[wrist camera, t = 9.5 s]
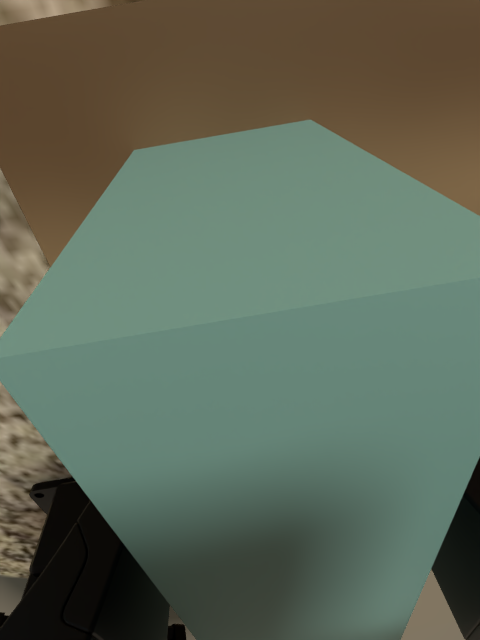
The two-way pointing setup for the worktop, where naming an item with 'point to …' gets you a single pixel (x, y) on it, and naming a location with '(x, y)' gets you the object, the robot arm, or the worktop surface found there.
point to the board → (234, 90)
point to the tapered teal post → (264, 378)
